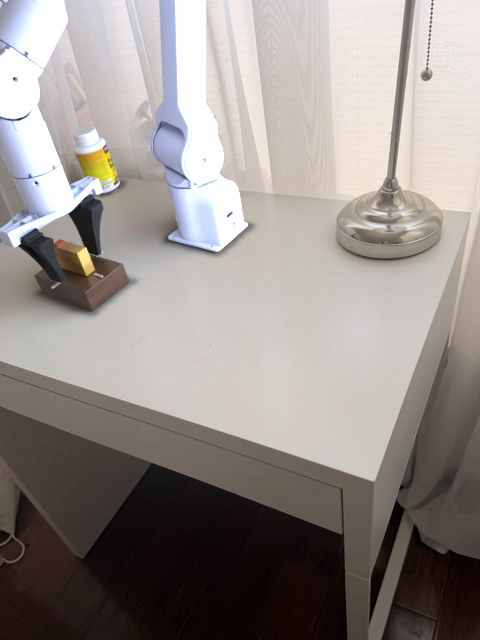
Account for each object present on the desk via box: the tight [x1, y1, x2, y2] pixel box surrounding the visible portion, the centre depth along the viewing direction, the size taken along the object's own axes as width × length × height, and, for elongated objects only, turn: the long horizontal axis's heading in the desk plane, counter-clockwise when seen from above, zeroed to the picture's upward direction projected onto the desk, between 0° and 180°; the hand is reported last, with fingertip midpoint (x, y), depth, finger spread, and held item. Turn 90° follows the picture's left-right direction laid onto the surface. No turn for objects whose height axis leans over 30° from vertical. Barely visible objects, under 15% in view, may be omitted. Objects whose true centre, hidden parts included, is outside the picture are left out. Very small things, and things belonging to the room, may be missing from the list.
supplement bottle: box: [72, 125, 121, 195], centre depth 94 cm, size 6×6×10 cm
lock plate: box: [33, 250, 130, 312], centre depth 73 cm, size 10×9×3 cm
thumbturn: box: [54, 238, 95, 276], centre depth 71 cm, size 5×2×4 cm, turn 57°
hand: (76, 266), depth 72 cm, fingers open, 6 cm apart
